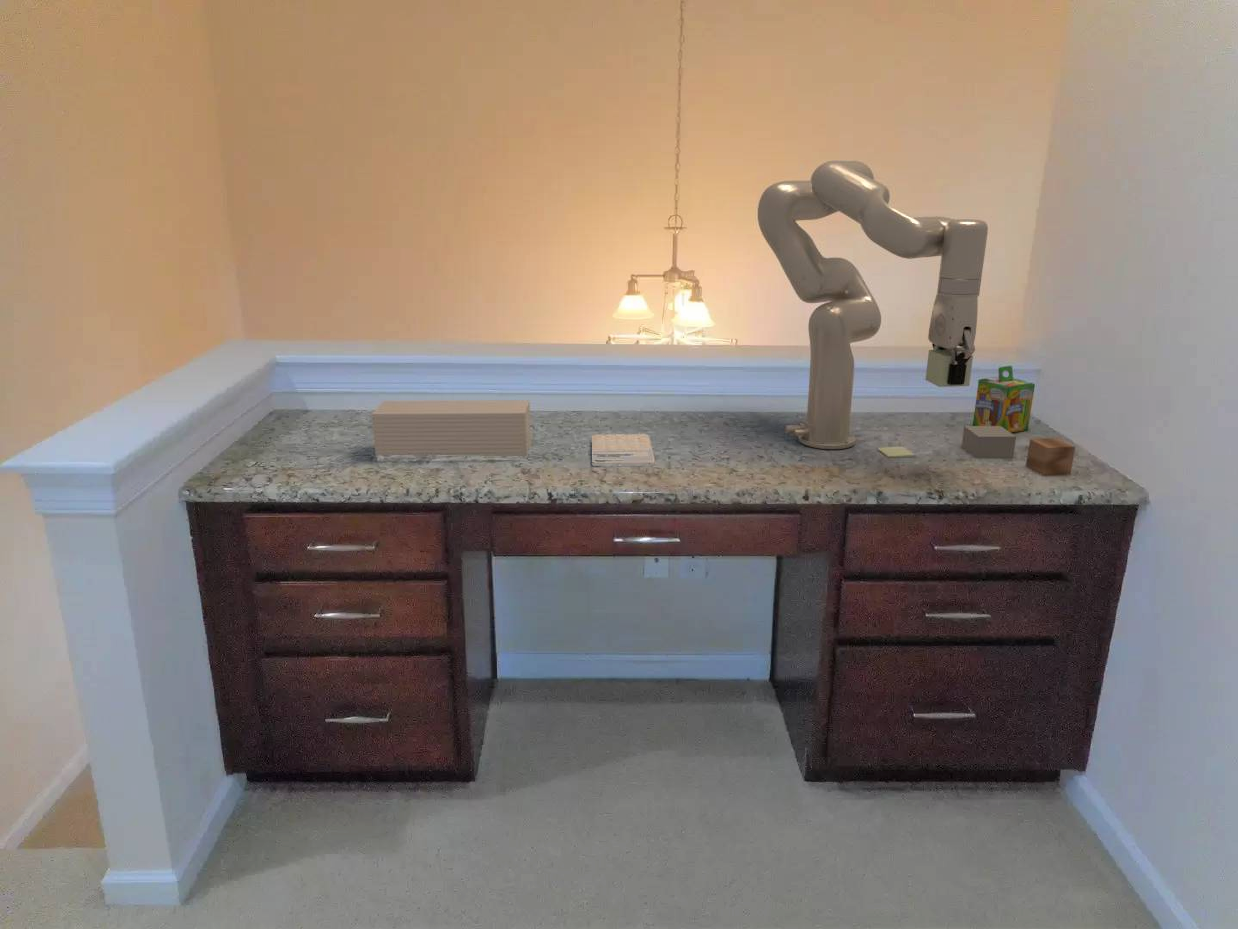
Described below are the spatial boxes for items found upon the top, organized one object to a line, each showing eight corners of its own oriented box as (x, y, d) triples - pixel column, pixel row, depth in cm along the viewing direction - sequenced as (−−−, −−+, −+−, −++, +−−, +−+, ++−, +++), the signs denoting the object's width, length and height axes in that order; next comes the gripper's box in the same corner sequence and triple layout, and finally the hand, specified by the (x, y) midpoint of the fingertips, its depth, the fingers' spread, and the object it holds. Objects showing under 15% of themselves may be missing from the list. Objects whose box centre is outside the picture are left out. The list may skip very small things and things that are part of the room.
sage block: (939, 386, 166) (943, 356, 164) (925, 379, 172) (928, 350, 170) (969, 386, 167) (973, 355, 165) (954, 378, 172) (957, 349, 170)
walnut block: (1042, 476, 174) (1047, 447, 172) (1025, 466, 179) (1030, 439, 177) (1070, 474, 174) (1075, 446, 172) (1052, 465, 180) (1057, 437, 178)
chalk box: (1002, 435, 200) (1011, 373, 195) (970, 426, 208) (979, 365, 203) (1029, 430, 204) (1039, 369, 199) (997, 421, 212) (1006, 361, 207)
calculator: (649, 440, 199) (649, 432, 198) (655, 468, 180) (655, 460, 179) (591, 441, 198) (591, 433, 198) (591, 469, 180) (591, 460, 179)
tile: (888, 457, 185) (888, 456, 184) (876, 449, 190) (877, 447, 190) (914, 456, 185) (915, 455, 185) (902, 448, 191) (902, 446, 191)
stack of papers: (376, 462, 183) (371, 413, 180) (388, 447, 193) (383, 401, 190) (527, 461, 184) (525, 412, 180) (531, 446, 194) (529, 400, 190)
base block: (975, 458, 185) (978, 436, 183) (961, 447, 192) (964, 426, 191) (1012, 458, 185) (1016, 436, 183) (997, 447, 192) (1000, 425, 191)
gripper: (919, 281, 171) (909, 371, 177) (962, 293, 155) (950, 391, 160) (955, 281, 172) (944, 370, 177) (1002, 293, 155) (988, 390, 161)
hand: (947, 379), depth 169 cm, fingers closed on sage block, 6 cm apart
